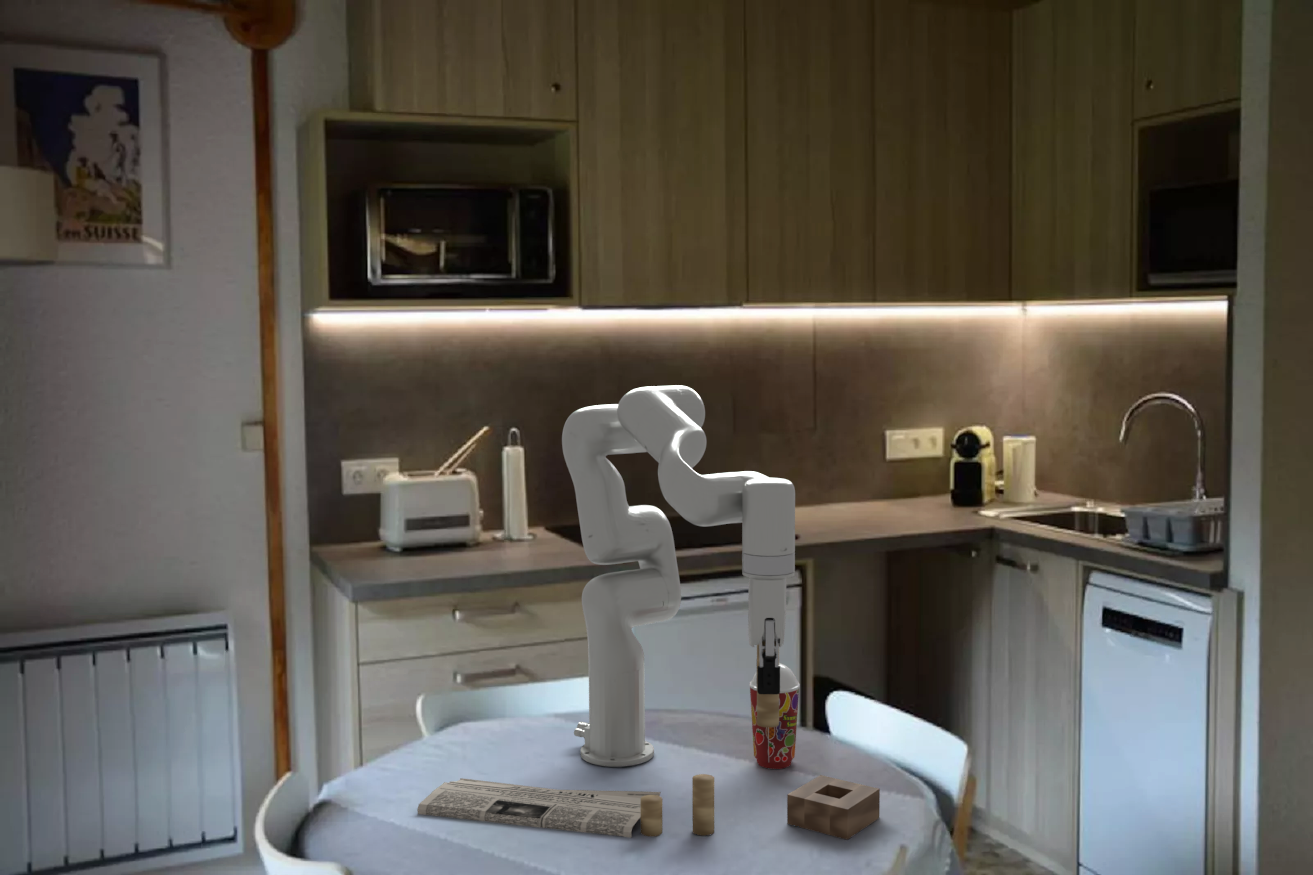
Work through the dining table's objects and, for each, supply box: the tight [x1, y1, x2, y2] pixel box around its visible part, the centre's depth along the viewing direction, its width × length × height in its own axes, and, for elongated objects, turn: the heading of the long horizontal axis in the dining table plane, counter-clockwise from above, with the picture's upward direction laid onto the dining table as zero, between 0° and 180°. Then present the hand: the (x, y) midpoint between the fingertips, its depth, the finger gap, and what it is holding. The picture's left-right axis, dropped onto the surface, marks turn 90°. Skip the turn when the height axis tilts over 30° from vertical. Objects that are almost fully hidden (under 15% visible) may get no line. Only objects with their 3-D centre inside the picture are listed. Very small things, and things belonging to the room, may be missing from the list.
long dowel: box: [756, 641, 779, 727], centre depth 188 cm, size 3×3×14 cm
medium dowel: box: [691, 773, 715, 837], centre depth 189 cm, size 3×3×8 cm
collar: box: [786, 774, 881, 841], centre depth 193 cm, size 10×10×4 cm
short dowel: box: [640, 795, 663, 837], centre depth 189 cm, size 3×3×5 cm
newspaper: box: [416, 777, 662, 838], centre depth 198 cm, size 35×12×4 cm, turn 74°
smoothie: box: [749, 662, 801, 770], centre depth 217 cm, size 8×8×20 cm
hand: (768, 688), depth 188 cm, fingers closed on long dowel, 3 cm apart
